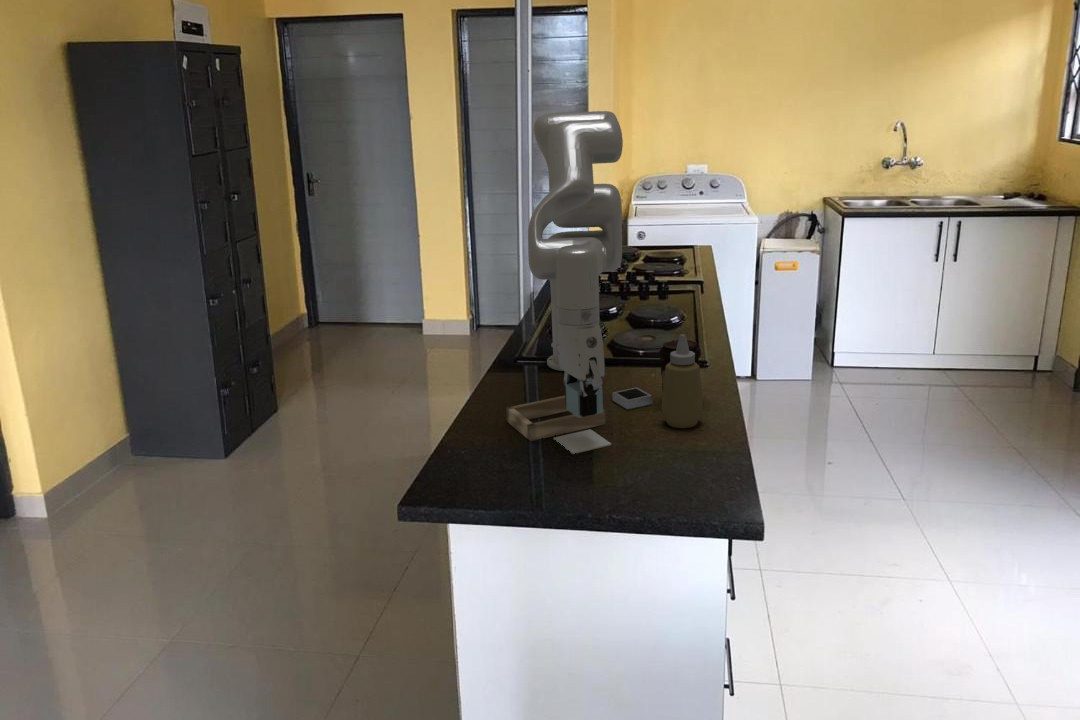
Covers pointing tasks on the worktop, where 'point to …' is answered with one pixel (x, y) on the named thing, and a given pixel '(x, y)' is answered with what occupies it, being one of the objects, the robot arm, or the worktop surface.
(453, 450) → the worktop surface
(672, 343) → the coffee cup
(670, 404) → the squeeze bottle
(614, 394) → the tray
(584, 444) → the mat
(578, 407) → the blue block
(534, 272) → the robot arm
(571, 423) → the cubby
